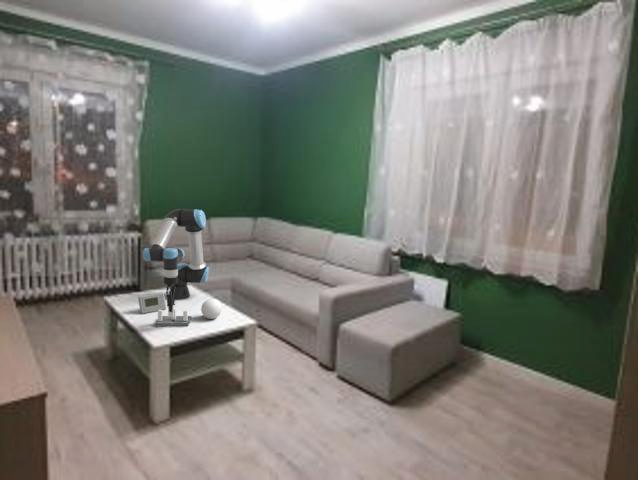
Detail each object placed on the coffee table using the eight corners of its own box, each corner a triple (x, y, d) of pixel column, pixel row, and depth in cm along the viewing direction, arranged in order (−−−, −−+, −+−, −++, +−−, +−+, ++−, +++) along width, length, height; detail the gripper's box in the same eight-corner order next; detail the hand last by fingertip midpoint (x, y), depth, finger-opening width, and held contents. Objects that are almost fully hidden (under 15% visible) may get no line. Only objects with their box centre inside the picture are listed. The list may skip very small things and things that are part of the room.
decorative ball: (225, 317, 256) (225, 298, 254) (212, 323, 245) (212, 303, 243) (210, 313, 261) (210, 295, 259) (197, 319, 250) (197, 300, 248)
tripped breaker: (172, 318, 244) (172, 308, 243) (176, 318, 244) (175, 308, 243) (171, 319, 241) (171, 309, 240) (175, 319, 242) (175, 309, 241)
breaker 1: (159, 319, 240) (158, 309, 239) (162, 319, 240) (162, 309, 240) (157, 321, 238) (157, 311, 237) (161, 321, 238) (161, 311, 237)
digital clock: (140, 314, 253) (139, 298, 251) (137, 310, 261) (136, 294, 259) (167, 311, 262) (167, 294, 260) (164, 306, 269) (164, 291, 268)
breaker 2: (184, 319, 242) (184, 309, 241) (187, 319, 242) (187, 309, 241) (183, 321, 240) (183, 311, 239) (186, 321, 240) (186, 311, 239)
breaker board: (160, 319, 248) (160, 315, 247) (191, 319, 250) (191, 315, 250) (155, 326, 236) (155, 323, 236) (188, 326, 238) (188, 323, 238)
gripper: (166, 273, 237) (166, 313, 241) (160, 279, 224) (161, 320, 228) (180, 273, 238) (180, 313, 242) (175, 279, 225) (175, 320, 229)
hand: (171, 316), depth 235 cm, fingers closed
